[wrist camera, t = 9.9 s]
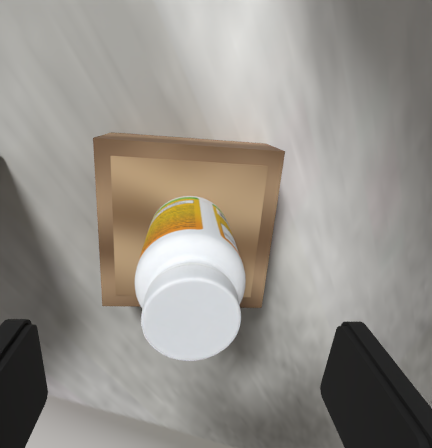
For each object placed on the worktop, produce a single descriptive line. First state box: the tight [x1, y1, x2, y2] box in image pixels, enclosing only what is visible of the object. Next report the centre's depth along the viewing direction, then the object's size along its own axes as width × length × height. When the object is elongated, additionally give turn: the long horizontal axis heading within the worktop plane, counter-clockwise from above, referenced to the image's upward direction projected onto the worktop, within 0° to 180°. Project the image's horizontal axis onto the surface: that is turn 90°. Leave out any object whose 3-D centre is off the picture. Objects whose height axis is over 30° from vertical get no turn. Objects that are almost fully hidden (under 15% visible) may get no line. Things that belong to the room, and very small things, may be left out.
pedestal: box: [93, 133, 285, 308], centre depth 24 cm, size 12×12×5 cm
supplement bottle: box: [135, 196, 246, 361], centre depth 17 cm, size 5×5×10 cm
